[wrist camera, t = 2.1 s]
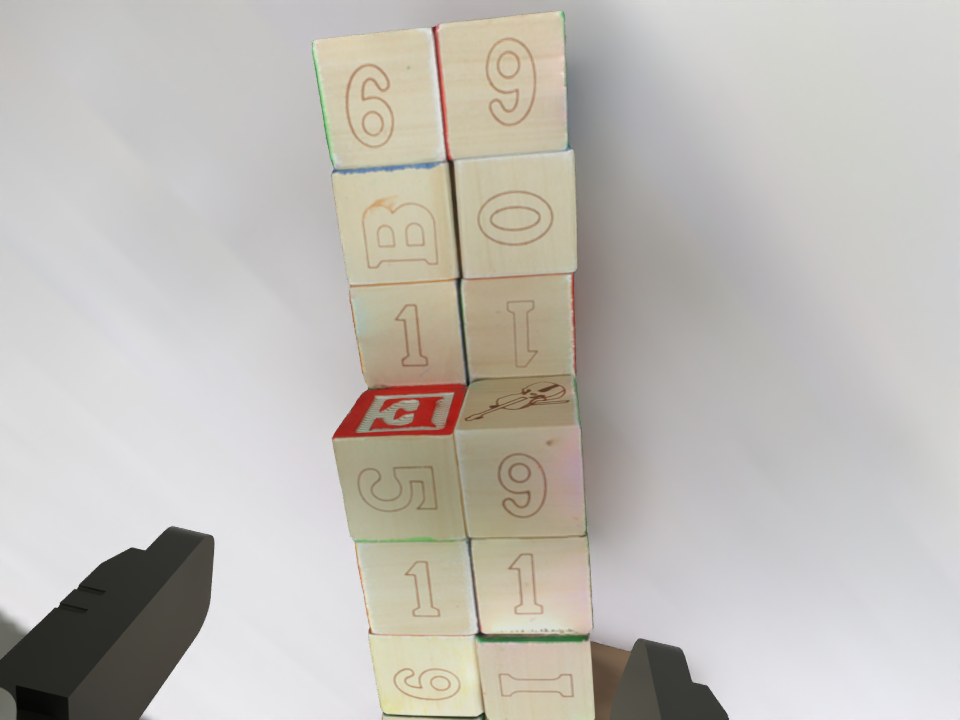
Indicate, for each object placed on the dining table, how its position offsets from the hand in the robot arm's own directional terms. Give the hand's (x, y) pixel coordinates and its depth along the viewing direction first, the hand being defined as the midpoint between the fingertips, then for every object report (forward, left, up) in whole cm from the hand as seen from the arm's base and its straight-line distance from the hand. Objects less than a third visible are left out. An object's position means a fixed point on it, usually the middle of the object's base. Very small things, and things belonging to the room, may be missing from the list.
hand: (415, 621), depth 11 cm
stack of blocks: (0, -1, -16) cm, 16 cm away
